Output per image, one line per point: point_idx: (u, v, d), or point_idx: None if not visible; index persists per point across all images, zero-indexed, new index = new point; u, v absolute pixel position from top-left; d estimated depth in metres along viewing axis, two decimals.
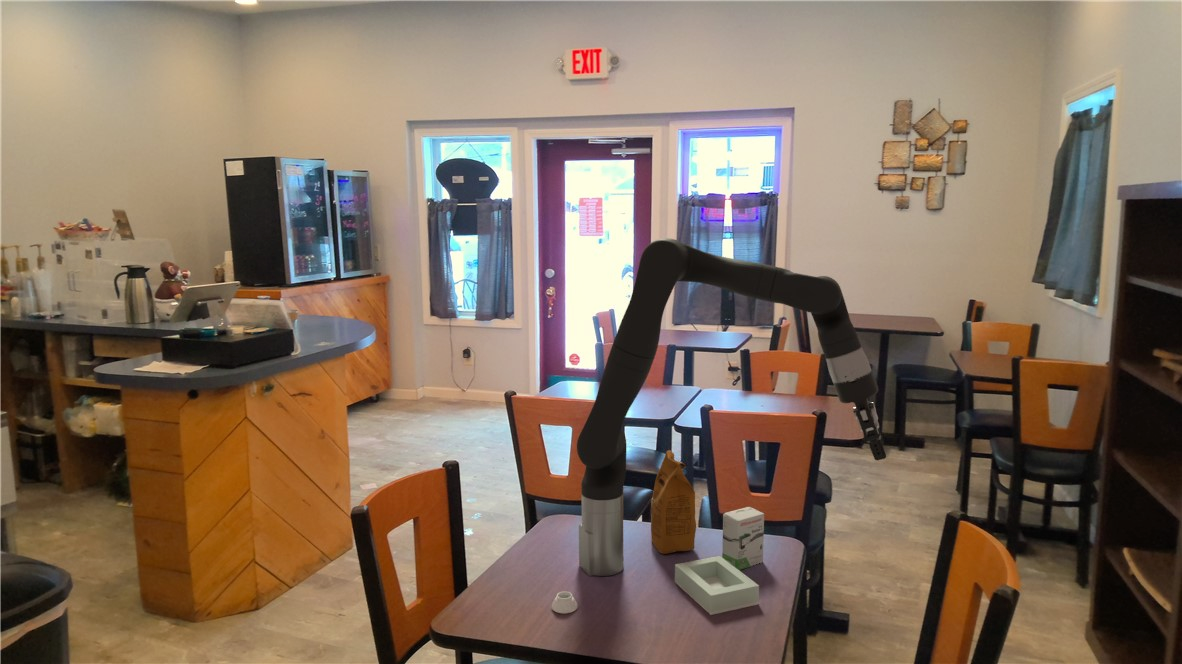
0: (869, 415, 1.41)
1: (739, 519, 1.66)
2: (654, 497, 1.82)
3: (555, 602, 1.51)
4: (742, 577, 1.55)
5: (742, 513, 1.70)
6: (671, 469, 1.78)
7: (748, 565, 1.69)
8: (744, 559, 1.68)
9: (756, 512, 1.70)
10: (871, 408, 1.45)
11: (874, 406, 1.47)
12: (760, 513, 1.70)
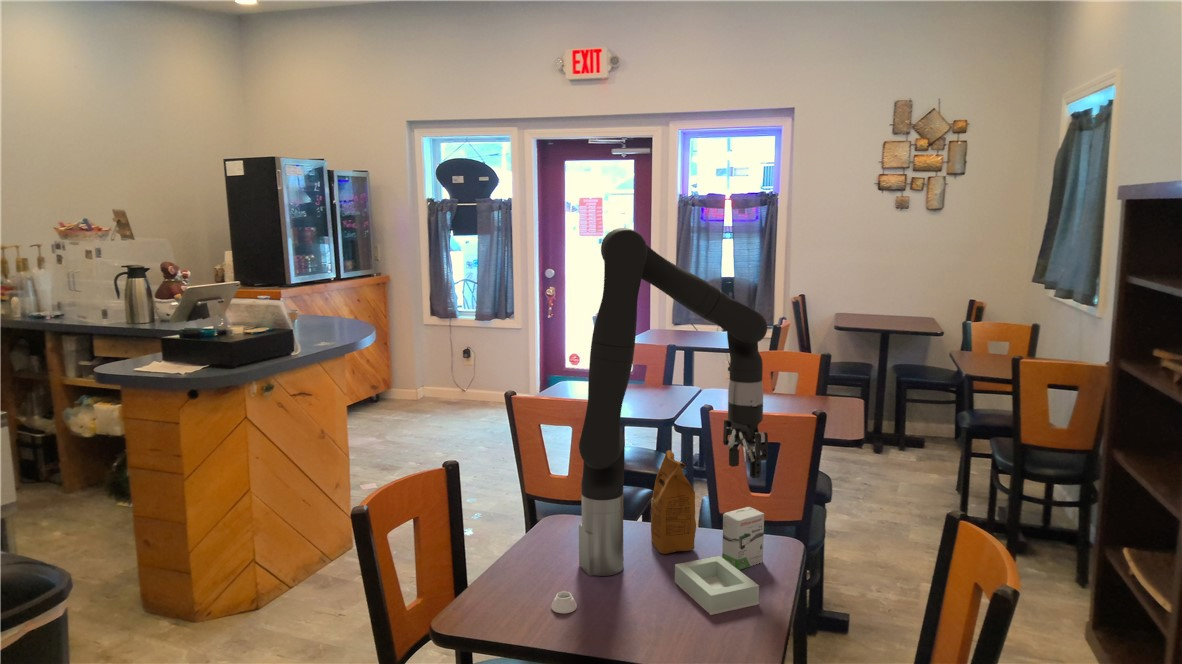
0: (766, 438, 1.61)
1: (739, 519, 1.66)
2: (654, 497, 1.82)
3: (554, 602, 1.51)
4: (742, 577, 1.55)
5: (742, 513, 1.70)
6: (671, 469, 1.78)
7: (748, 565, 1.69)
8: (744, 559, 1.68)
9: (756, 512, 1.70)
10: None
11: None
12: (760, 513, 1.70)
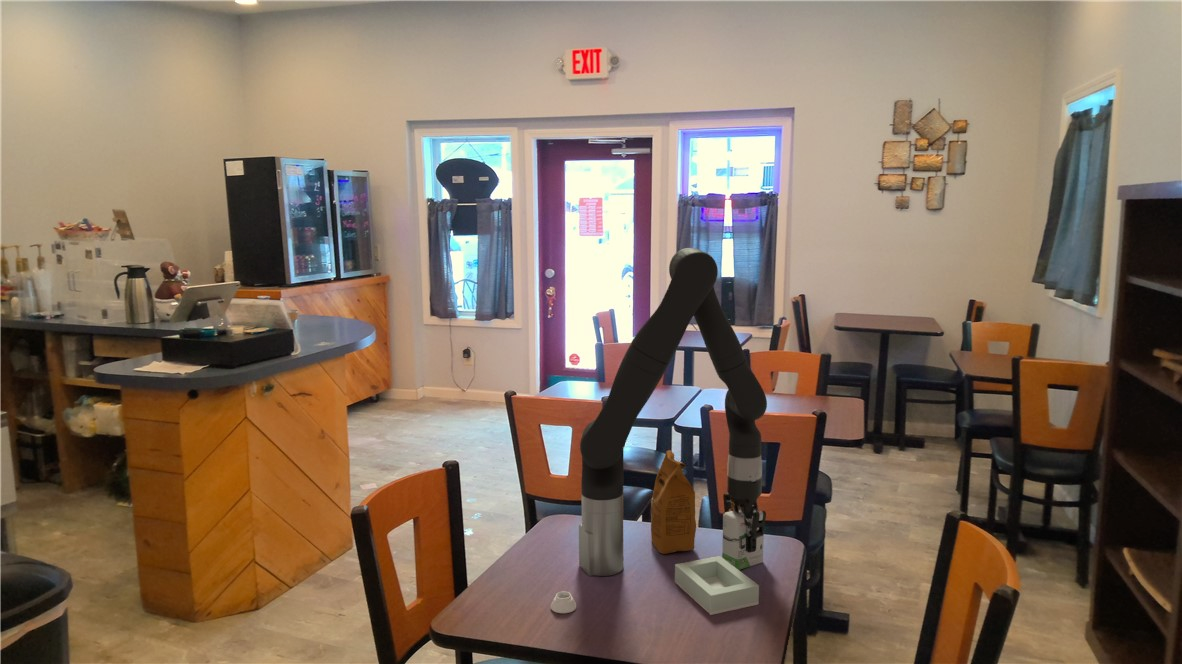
0: (764, 517, 1.64)
1: (739, 519, 1.66)
2: (654, 497, 1.82)
3: (554, 602, 1.51)
4: (742, 577, 1.55)
5: None
6: (671, 469, 1.78)
7: (748, 565, 1.69)
8: (744, 559, 1.68)
9: None
10: None
11: None
12: None
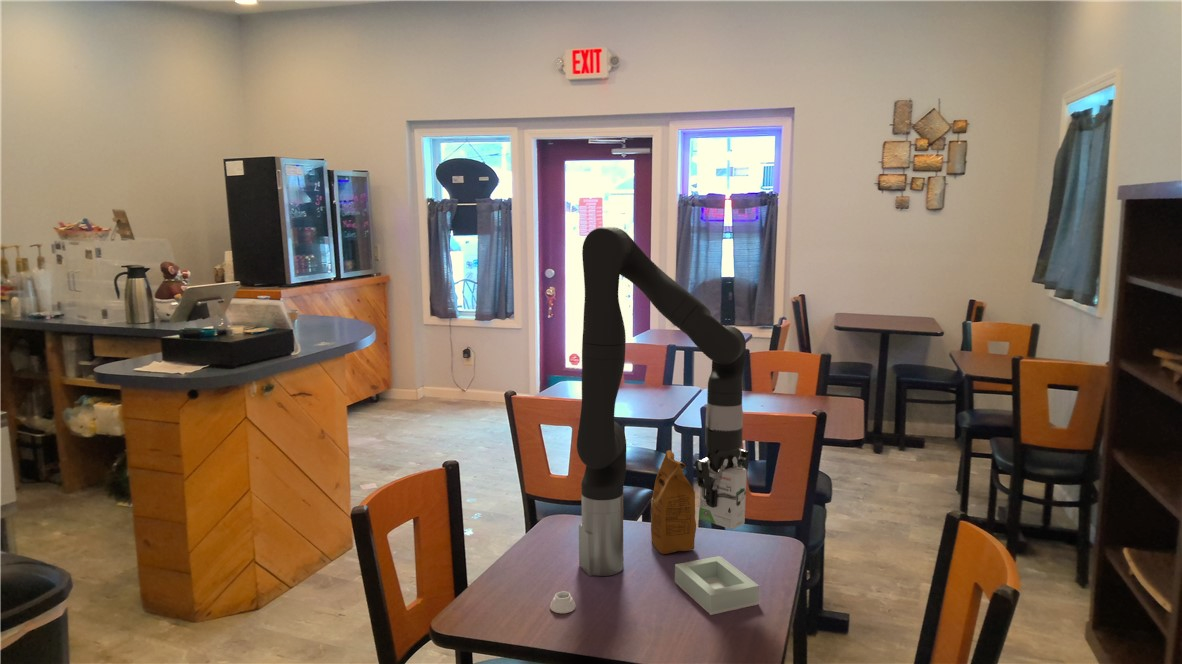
0: (703, 468, 1.52)
1: None
2: (654, 497, 1.82)
3: (553, 602, 1.51)
4: (742, 577, 1.55)
5: None
6: (671, 469, 1.78)
7: (712, 521, 1.57)
8: (707, 511, 1.58)
9: (732, 472, 1.54)
10: (721, 461, 1.54)
11: (732, 460, 1.56)
12: (732, 473, 1.53)
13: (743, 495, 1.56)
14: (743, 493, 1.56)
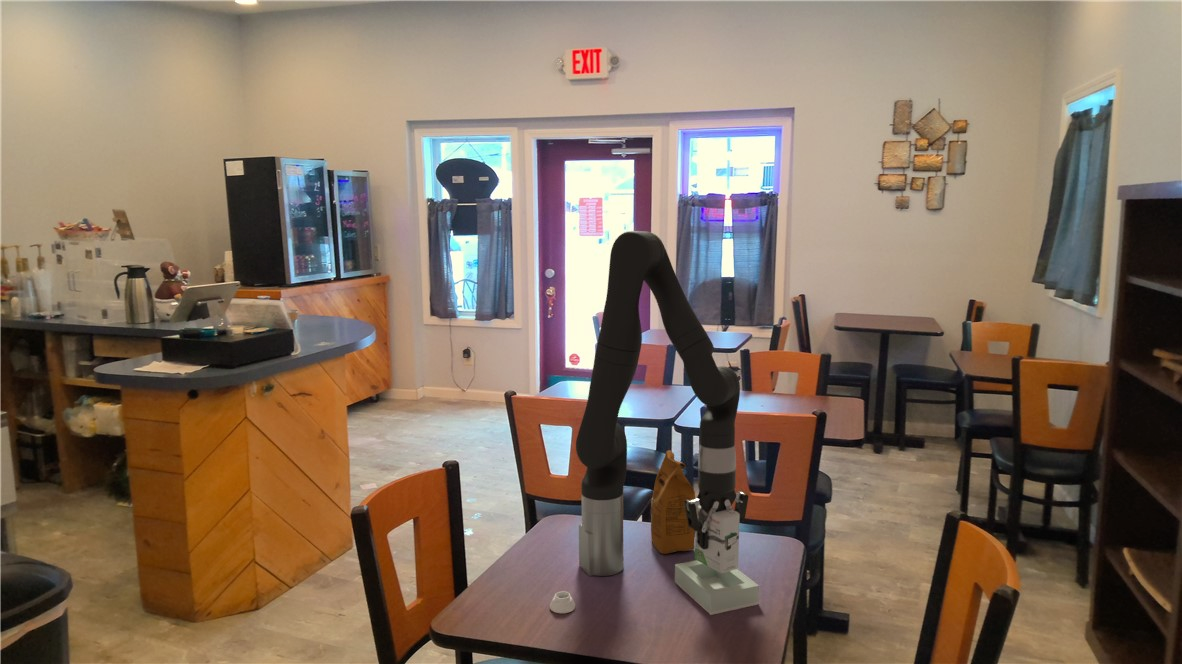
0: (690, 509, 1.51)
1: (699, 507, 1.56)
2: (654, 497, 1.82)
3: (553, 602, 1.51)
4: (742, 577, 1.55)
5: None
6: (671, 469, 1.78)
7: (705, 563, 1.56)
8: (701, 552, 1.56)
9: (722, 515, 1.52)
10: (712, 503, 1.53)
11: (724, 502, 1.53)
12: (721, 517, 1.51)
13: (735, 540, 1.53)
14: (735, 537, 1.53)
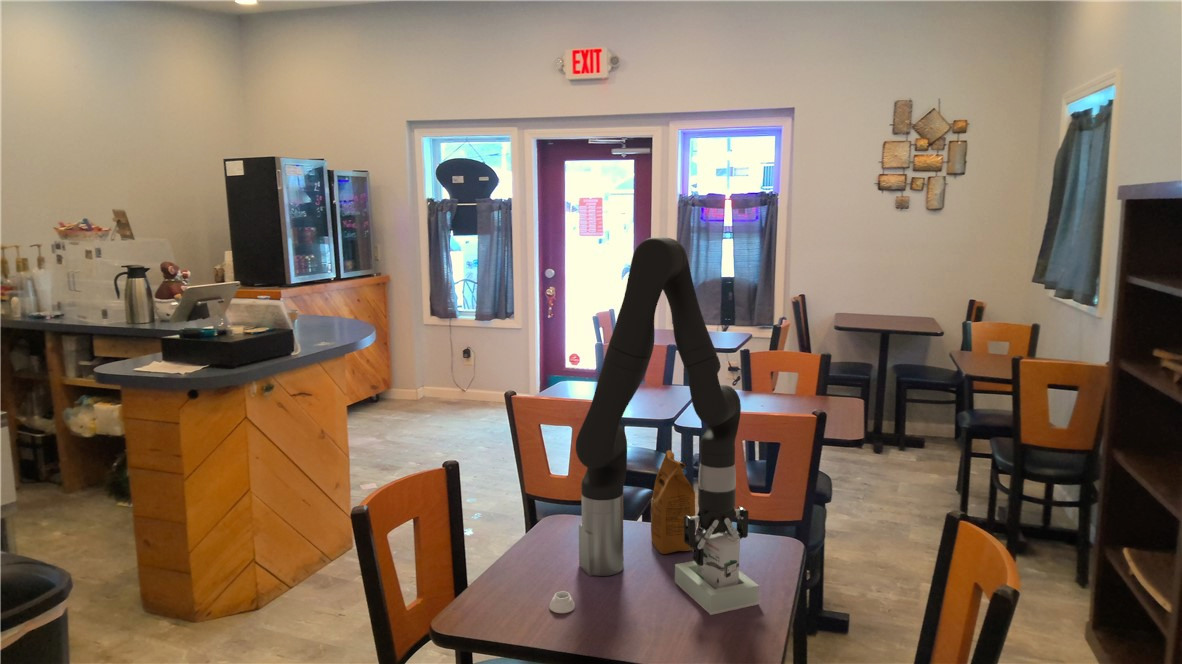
0: (689, 525, 1.52)
1: None
2: (654, 497, 1.82)
3: (553, 602, 1.51)
4: (742, 577, 1.55)
5: (717, 535, 1.56)
6: (671, 469, 1.78)
7: None
8: None
9: (723, 542, 1.53)
10: (712, 521, 1.53)
11: (724, 521, 1.54)
12: (721, 544, 1.52)
13: (735, 567, 1.53)
14: (735, 564, 1.53)
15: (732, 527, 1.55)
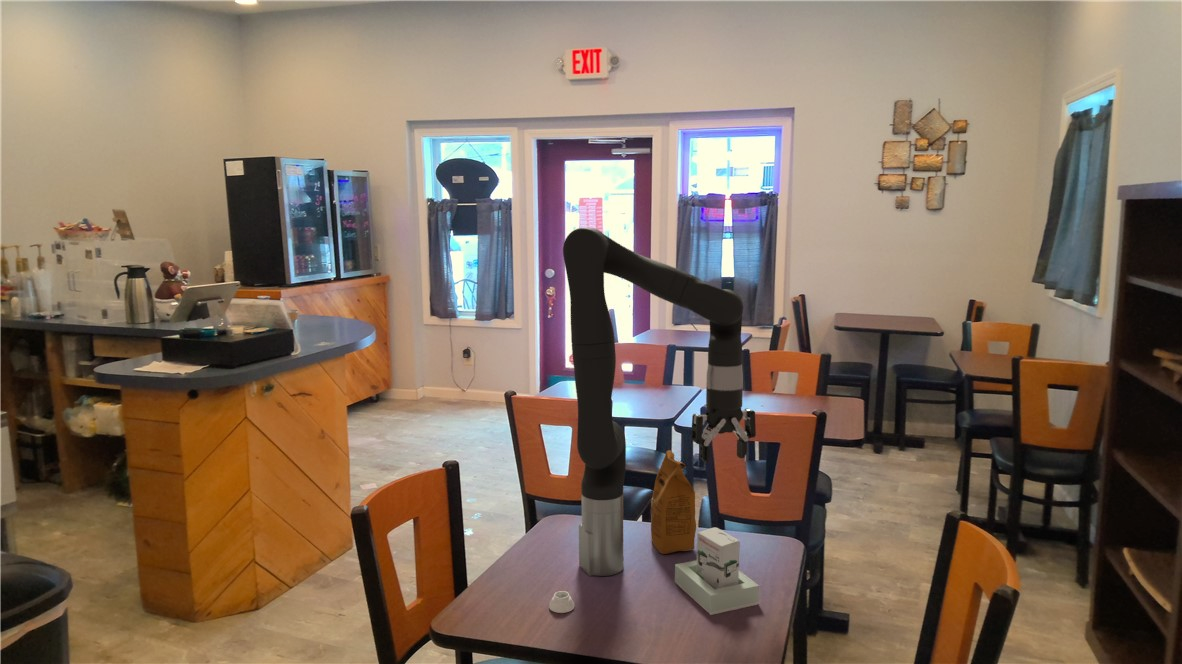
0: (697, 421, 1.57)
1: (701, 533, 1.58)
2: (654, 497, 1.82)
3: (552, 602, 1.51)
4: (742, 577, 1.55)
5: (717, 535, 1.56)
6: (671, 469, 1.78)
7: None
8: None
9: (722, 542, 1.53)
10: (719, 420, 1.58)
11: (731, 421, 1.59)
12: (721, 544, 1.52)
13: (735, 567, 1.53)
14: (735, 564, 1.53)
15: (739, 426, 1.60)
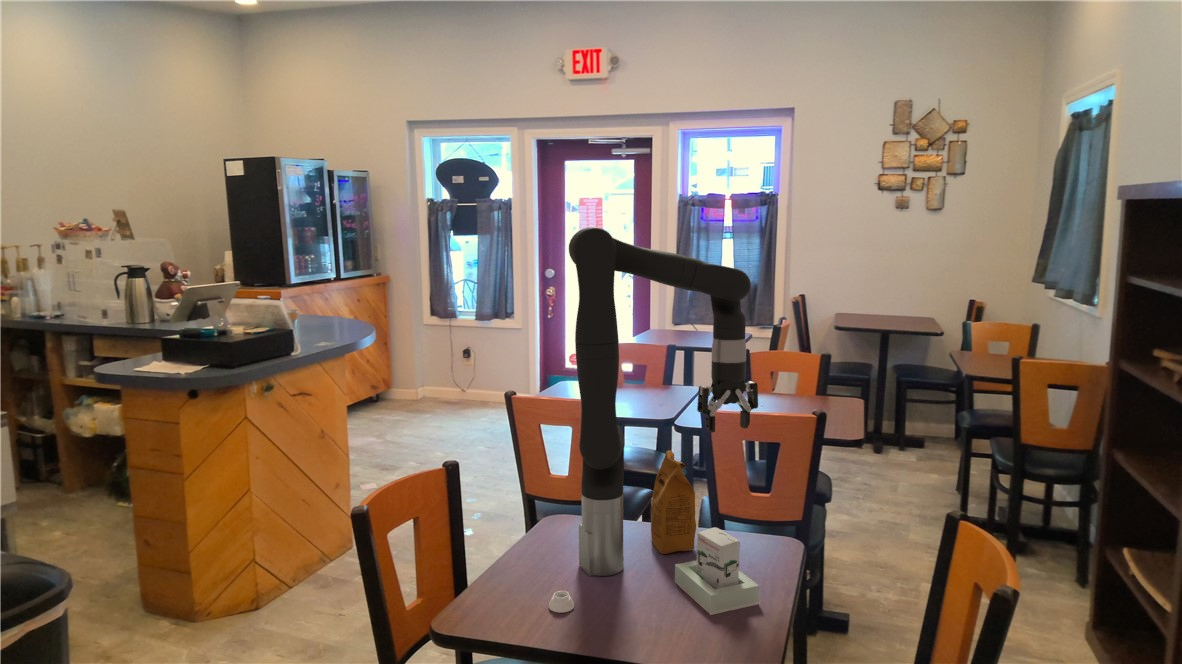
0: (703, 393, 1.66)
1: (701, 533, 1.58)
2: (654, 497, 1.82)
3: (552, 601, 1.51)
4: (742, 577, 1.55)
5: (717, 535, 1.56)
6: (671, 469, 1.78)
7: None
8: None
9: (722, 542, 1.53)
10: (724, 391, 1.67)
11: (735, 392, 1.67)
12: (721, 544, 1.52)
13: (735, 567, 1.53)
14: (735, 564, 1.53)
15: (743, 398, 1.69)
